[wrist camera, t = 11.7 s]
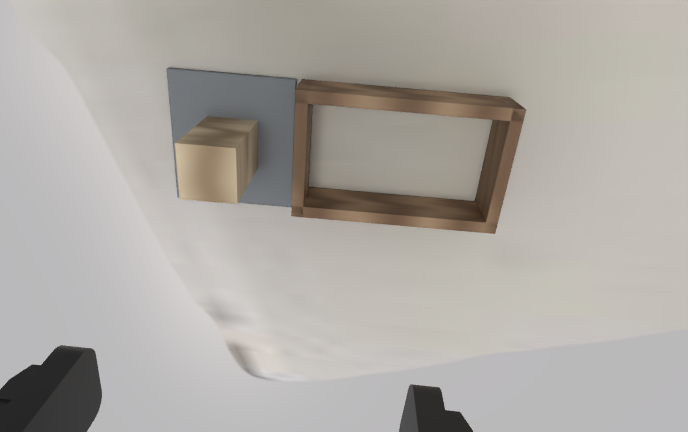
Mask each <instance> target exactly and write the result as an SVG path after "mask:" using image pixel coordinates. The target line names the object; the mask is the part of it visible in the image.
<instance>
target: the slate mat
mask: <svg viewBox="0 0 688 432" xmlns="http://www.w3.org/2000/svg"><path fill="white" fill-rule="evenodd" d="M167 78H168V90H169V102H170V113H171V125H172V137H173V148H174V160H175V172H176V183H177V195H178V197H179V187H178V175H177V163H176V152H175V143H176V142H177V141H178V140H179V139H180V138H182V137H183V136H184V135H185V134H186V133H188V132H189V131H190V130H191V129H192V128H194V127H195V126H196V125H197V124H198V123H200V122H201V121H202V120H203V119H204V118H206V117H207V116H211V117H223V118H235V119H247V120H258V169H257V171H256V172H255V174H254V176H253V178H252V179H251V181H250V183H249V185H248V186H247V188H246V190H245V192H244V193H243V195H242V197H241V199H240V200H239V202H238V203H248V204H260V205H272V206H283V207H292V183H293V152H294V121H295V90H296V79H293V78H282V77H270V76H259V75H247V74H236V73H224V72H213V71H201V70H190V69H178V68H167Z"/></svg>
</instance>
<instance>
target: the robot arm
mask: <svg viewBox="0 0 688 432" xmlns="http://www.w3.org/2000/svg"><path fill="white" fill-rule="evenodd" d="M101 398H102V390H101V384H100V378H99V372H98V366H97V359H96V354H95V351H94V350H93V349H91V348H81V347H71V346H63V345H62V346H59V347H57V348H56V349H55V350H54V351H53V352H52V353H51V354H50V355H49V357H48V358H47V359H46V360H45V361H44V362H43V364H42V365H31V366H30V367H28V368H27V369H25V370H23V371H22V372H20V373H19V374H17V375H16V376H14V377H13V378H11V379H10V380H9V381H8V382H7V383H6V384H5V385H4V386H3V387H2V388H1V390H0V432H87V430H88V429H89V427H90V426H91V424H92V422H93V421H94V419H95V417H96V415H97V413H98V410H99V408H100V404H101ZM399 432H473V430H472V429H471V427H470V426H469V424H468V423H467V422H466V420H465V419H464V417H463V416H462V414H461V413H460V412H455V411H447V410H445V408H444V402H443V398H442V392H441V390H440V388H438V387H430V386H420V385H410V386H409V389H408V393H407V398H406V402H405V406H404V410H403V415H402V419H401V424H400V429H399Z"/></svg>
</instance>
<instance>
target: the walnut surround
mask: <svg viewBox="0 0 688 432" xmlns="http://www.w3.org/2000/svg"><path fill="white" fill-rule="evenodd" d="M313 104H319V105H330V106H342V107H353V108H365V109H376V110H388V111H399V112H411V113H422V114H434V115H445V116H457V117H468V118H480V119H491V120H493V122H492V127H491V131H490V136H489V140H488V145H487V149H486V154H485V158H484V163H483V167H482V172H481V176H480V181H479V185H478V190H477V194H476V199H475V201H464V200H453V199H441V198H429V197H418V196H406V195H395V194H383V193H372V192H360V191H348V190H337V189H325V188H314V187H309V167H310V147H311V126H312V106H313ZM525 112H526V109H525V108H523V107H522V106H521V105H519V104H518V103H517V102H515V101H514V100H513V99H511V98H510V97H500V96H488V95H477V94H465V93H454V92H442V91H431V90H420V89H408V88H397V87H385V86H374V85H362V84H351V83H339V82H328V81H316V80H305V79H302V80H301V82H300V83H299V85H298V87H297V88H296V90H295V121H294V152H293V183H292V214H291V216H295V217H307V218H318V219H330V220H342V221H353V222H365V223H377V224H388V225H400V226H411V227H423V228H435V229H446V230H458V231H469V232H481V233H493V234H495V232H496V228H497V224H498V220H499V216H500V212H501V208H502V204H503V200H504V196H505V192H506V188H507V184H508V180H509V176H510V172H511V168H512V164H513V160H514V156H515V152H516V148H517V144H518V140H519V136H520V132H521V128H522V124H523V120H524V116H525Z"/></svg>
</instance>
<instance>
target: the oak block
mask: <svg viewBox="0 0 688 432" xmlns="http://www.w3.org/2000/svg"><path fill="white" fill-rule="evenodd" d="M175 152H176V163H177V175H178V187H179V198H180V199H185V200H197V201H209V202H221V203H232V204H238V202H239V200H240V199H241V197H242V195H243V193H244V192H245V190H246V188H247V186H248V185H249V183H250V181H251V179H252V178H253V176H254V174H255V172H256V171H257V169H258V120H247V119H235V118H223V117H211V116H207V117H206V118H204V119H203V120H202V121H201V122H200V123H198V124H197V125H196V126H195V127H194V128H192V129H191V130H190V131H189V132H188V133H186V134H185V135H184V136H183V137H182V138H180V139H179V140H178V141H177V142H176V143H175Z"/></svg>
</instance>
